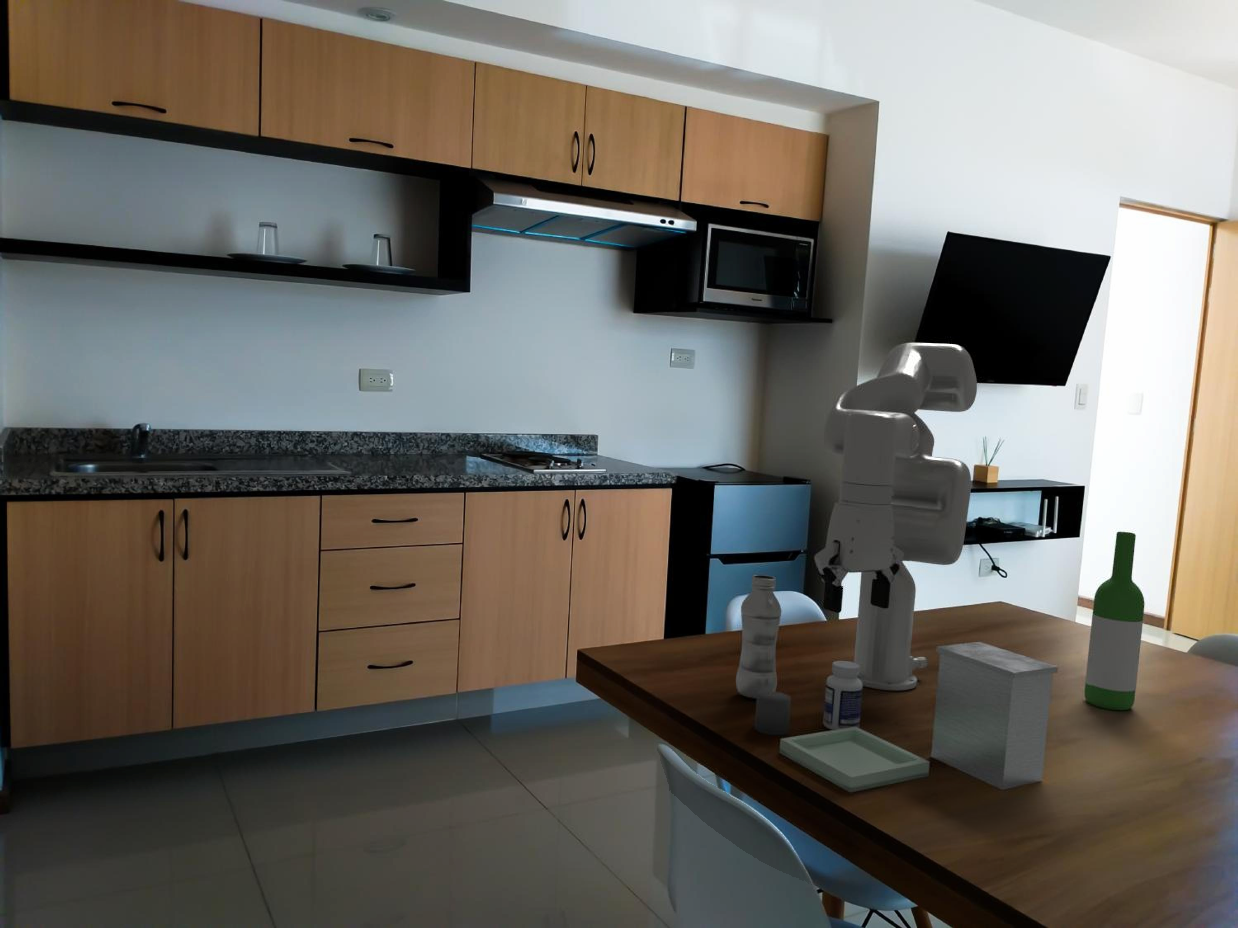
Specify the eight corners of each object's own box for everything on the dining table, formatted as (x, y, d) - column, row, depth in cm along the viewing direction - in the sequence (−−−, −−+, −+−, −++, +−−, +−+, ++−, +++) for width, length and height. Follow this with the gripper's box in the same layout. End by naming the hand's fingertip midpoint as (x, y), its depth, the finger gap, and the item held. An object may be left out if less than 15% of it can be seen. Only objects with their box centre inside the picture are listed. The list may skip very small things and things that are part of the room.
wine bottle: (1114, 714, 161) (1133, 536, 158) (1073, 699, 167) (1090, 529, 165) (1143, 709, 164) (1162, 536, 162) (1102, 695, 171) (1119, 528, 169)
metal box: (969, 747, 140) (979, 641, 139) (1046, 781, 129) (1058, 666, 128) (926, 755, 136) (936, 646, 135) (1002, 791, 125) (1014, 672, 124)
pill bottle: (864, 726, 147) (869, 663, 146) (852, 736, 142) (857, 671, 141) (830, 718, 150) (835, 656, 149) (817, 727, 145) (822, 664, 144)
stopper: (774, 721, 146) (776, 689, 146) (795, 732, 142) (798, 699, 142) (747, 725, 144) (750, 693, 143) (768, 737, 140) (771, 703, 139)
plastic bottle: (775, 705, 154) (784, 582, 152) (732, 700, 155) (741, 578, 154) (776, 693, 160) (785, 575, 159) (736, 688, 161) (744, 571, 160)
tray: (854, 739, 141) (855, 726, 140) (928, 776, 128) (929, 761, 128) (779, 752, 134) (780, 738, 133) (850, 792, 121) (851, 776, 121)
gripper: (887, 492, 150) (878, 599, 152) (804, 492, 141) (795, 606, 143) (925, 498, 144) (915, 610, 145) (840, 499, 135) (830, 618, 136)
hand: (856, 608), depth 144 cm, fingers open, 9 cm apart
